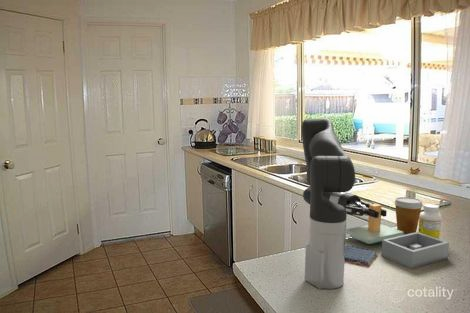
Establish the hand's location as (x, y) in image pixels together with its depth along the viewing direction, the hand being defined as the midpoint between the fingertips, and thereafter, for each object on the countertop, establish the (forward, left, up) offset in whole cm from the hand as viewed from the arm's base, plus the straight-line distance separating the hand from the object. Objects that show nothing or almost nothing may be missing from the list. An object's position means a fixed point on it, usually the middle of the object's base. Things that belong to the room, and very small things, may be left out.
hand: (381, 214), depth 129 cm
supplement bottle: (+15, -7, -10) cm, 19 cm away
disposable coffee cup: (+18, +4, -10) cm, 21 cm away
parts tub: (0, -13, -10) cm, 17 cm away
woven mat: (-16, -5, -11) cm, 20 cm away
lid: (0, +3, -9) cm, 9 cm away
